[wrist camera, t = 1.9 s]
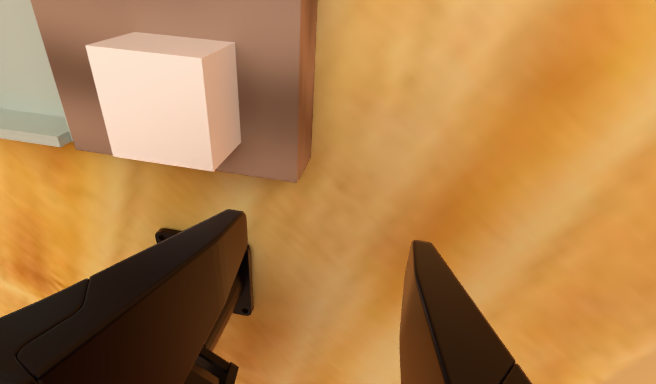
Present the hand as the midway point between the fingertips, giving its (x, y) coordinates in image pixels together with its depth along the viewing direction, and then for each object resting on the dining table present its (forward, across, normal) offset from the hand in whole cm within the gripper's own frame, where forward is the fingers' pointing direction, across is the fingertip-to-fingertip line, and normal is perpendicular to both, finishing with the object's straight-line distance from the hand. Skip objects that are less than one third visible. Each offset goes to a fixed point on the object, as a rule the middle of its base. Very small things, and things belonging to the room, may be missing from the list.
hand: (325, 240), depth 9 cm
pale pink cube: (+9, +8, 0) cm, 12 cm away
